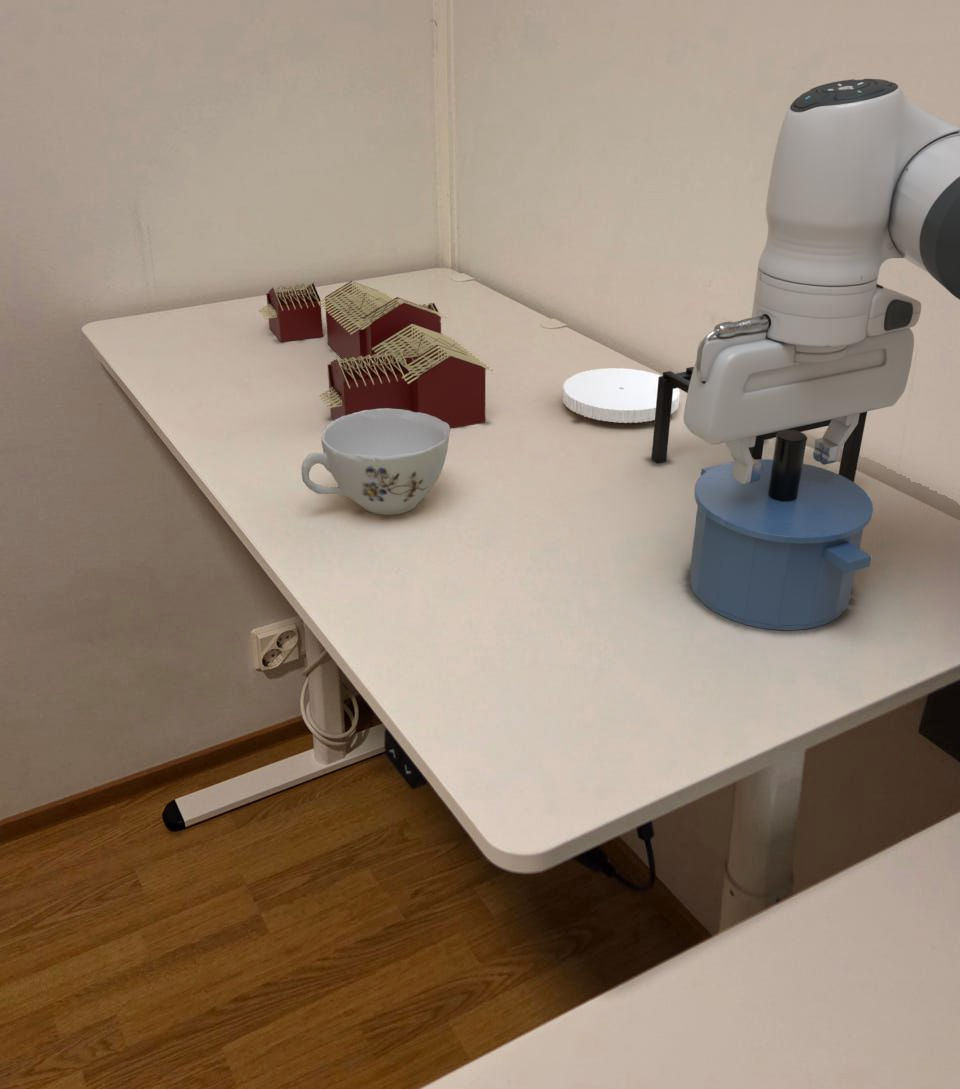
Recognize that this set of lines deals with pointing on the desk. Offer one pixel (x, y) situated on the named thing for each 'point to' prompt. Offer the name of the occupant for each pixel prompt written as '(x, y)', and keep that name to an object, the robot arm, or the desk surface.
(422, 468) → the teacup
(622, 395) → the plastic lid
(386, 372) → the toy houses
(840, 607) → the pot
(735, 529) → the lid
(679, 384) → the rack
